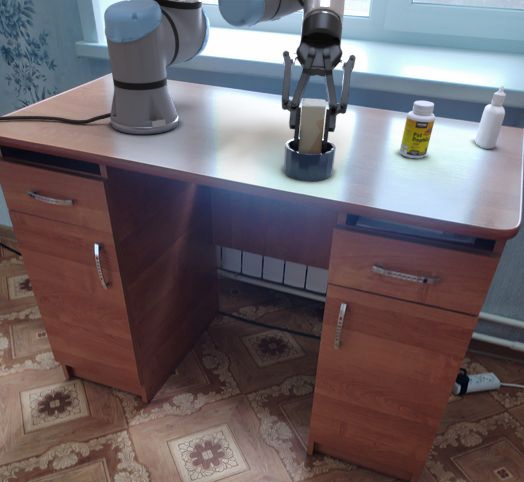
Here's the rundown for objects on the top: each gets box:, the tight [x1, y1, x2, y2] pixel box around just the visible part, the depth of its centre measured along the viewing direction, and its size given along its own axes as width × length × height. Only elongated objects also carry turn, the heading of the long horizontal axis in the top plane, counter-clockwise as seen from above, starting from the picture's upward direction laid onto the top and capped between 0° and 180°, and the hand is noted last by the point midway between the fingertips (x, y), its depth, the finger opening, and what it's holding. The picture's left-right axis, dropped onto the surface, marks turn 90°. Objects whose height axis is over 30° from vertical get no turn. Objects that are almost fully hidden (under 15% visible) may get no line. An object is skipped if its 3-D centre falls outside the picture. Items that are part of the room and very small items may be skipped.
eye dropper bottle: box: [474, 85, 507, 150], centre depth 109 cm, size 4×6×12 cm
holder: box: [283, 138, 336, 182], centre depth 97 cm, size 9×9×5 cm
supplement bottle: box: [399, 100, 436, 159], centre depth 104 cm, size 6×6×10 cm
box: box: [298, 97, 327, 154], centre depth 94 cm, size 5×4×11 cm
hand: (310, 146), depth 92 cm, fingers open, 5 cm apart
